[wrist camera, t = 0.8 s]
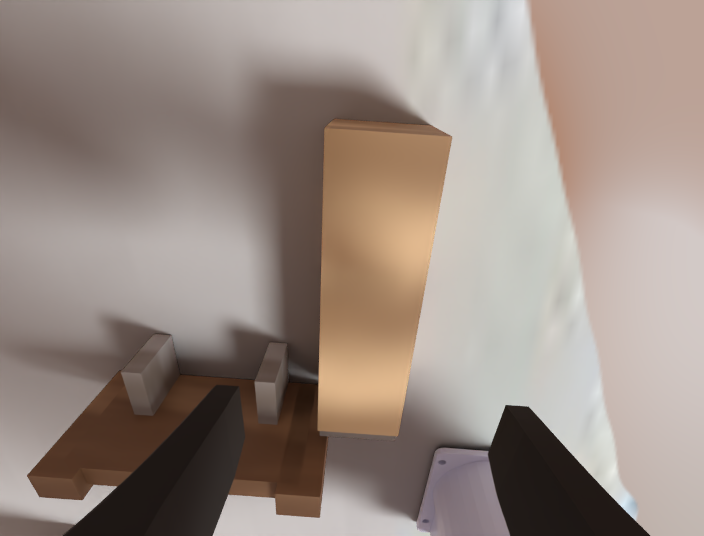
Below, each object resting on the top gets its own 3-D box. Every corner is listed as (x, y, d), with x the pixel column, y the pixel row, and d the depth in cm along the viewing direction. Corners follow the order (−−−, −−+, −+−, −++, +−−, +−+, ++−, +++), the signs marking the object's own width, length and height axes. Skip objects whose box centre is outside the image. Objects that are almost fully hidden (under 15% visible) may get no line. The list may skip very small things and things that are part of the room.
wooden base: (332, 404, 22) (319, 517, 16) (125, 389, 22) (39, 497, 16) (334, 346, 20) (321, 453, 14) (106, 330, 20) (-1, 430, 14)
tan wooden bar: (391, 383, 21) (397, 443, 17) (325, 378, 21) (317, 437, 18) (430, 124, 14) (452, 136, 11) (334, 118, 14) (324, 128, 11)
